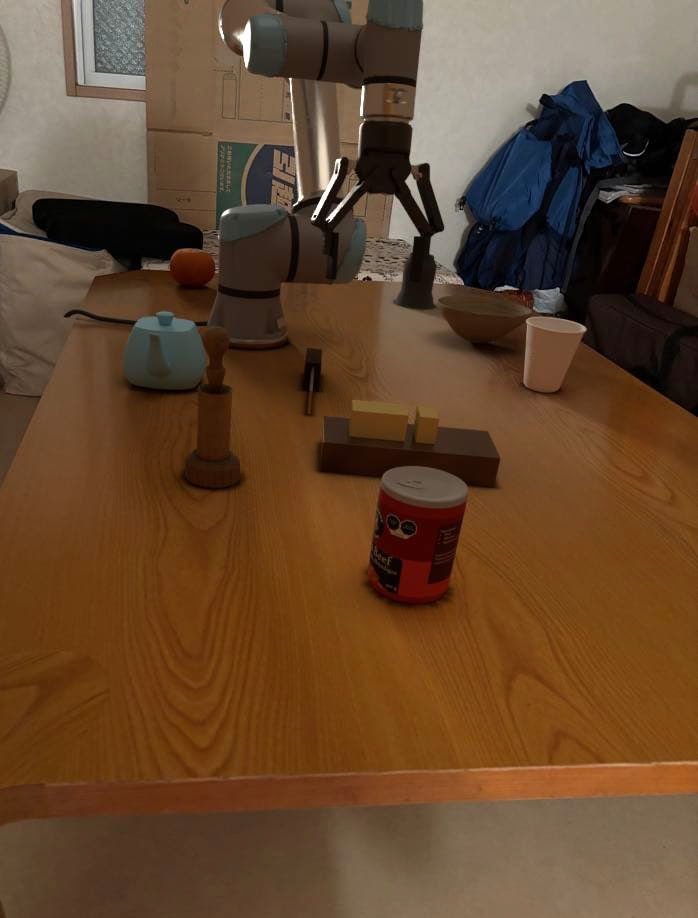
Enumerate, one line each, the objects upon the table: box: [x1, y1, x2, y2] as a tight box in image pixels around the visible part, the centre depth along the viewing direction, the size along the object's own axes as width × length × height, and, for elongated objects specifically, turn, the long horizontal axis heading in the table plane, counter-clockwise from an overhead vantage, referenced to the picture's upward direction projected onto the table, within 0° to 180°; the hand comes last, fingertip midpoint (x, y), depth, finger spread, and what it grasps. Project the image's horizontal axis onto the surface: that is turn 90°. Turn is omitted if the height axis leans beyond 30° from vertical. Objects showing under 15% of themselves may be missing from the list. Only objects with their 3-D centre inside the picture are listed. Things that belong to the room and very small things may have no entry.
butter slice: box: [413, 405, 440, 444], centre depth 98 cm, size 2×4×4 cm, turn 177°
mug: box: [395, 252, 438, 310], centre depth 183 cm, size 12×9×11 cm
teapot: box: [122, 310, 207, 391], centre depth 119 cm, size 13×11×18 cm
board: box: [319, 415, 501, 488], centre depth 100 cm, size 22×9×4 cm, turn 87°
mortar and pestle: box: [184, 327, 241, 489], centre depth 89 cm, size 7×6×18 cm
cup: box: [522, 316, 588, 393], centre depth 132 cm, size 10×10×11 cm
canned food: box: [367, 466, 469, 604], centre depth 73 cm, size 8×8×11 cm
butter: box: [349, 399, 410, 441], centre depth 98 cm, size 7×4×4 cm, turn 87°
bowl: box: [436, 294, 533, 344], centre depth 156 cm, size 18×18×8 cm
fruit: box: [169, 247, 216, 287], centre depth 181 cm, size 11×10×8 cm
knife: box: [302, 347, 323, 415], centre depth 121 cm, size 19×3×5 cm, turn 177°
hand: (373, 280), depth 117 cm, fingers open, 13 cm apart
